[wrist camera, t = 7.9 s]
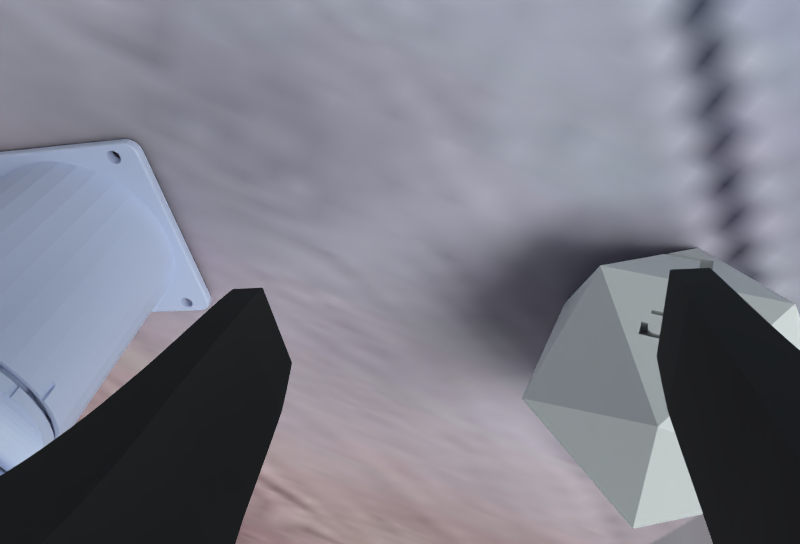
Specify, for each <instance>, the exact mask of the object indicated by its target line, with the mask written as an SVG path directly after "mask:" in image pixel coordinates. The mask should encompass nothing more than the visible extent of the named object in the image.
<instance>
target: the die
mask: <svg viewBox="0 0 800 544" xmlns="http://www.w3.org/2000/svg"><path fill="white" fill-rule="evenodd" d="M694 268H711V269H712V270H713V271H714V272H715V273H716V274H717V275H719V276H720V277H721V278H722V279H723V280H724V281H725V282H726V283H727V284H728V285H729V286H730V287H731V288H732V289H733V290H735V291H736V292H737V293H738V294H739V295H740V296H741V297H742V298H743V299H744V300H745V301H746V302H747V303H748V304H749V305H750V306H751V307H752V308H754V309H755V310H756V311H757V312H758V313H759V314H760V315H761V316H762V317H763V318H764V319H765V320H766V321H768V322H769V323H770V324H771V325H772V326H773V327H774V328H775V329H776V330H777V331H779V332H780V333H781V334H782V335H783V336H784V337H785V338H786V339H787V340H789V341H790V342H791V343H792V344H793V345H794V346H795V347H797V348H798V349H799V350H800V316H799V313H798V311H797V308H796V305H795V303H793V302H791V301H789V300H788V299H786V298H784V297H782V296H781V295H779V294H777V293H776V292H774V291H772V290H770V289H769V288H767V287H765V286H763V285H762V284H760V283H758V282H757V281H755V280H753V279H751V278H750V277H748V276H746V275H745V274H743V273H741V272H739V271H738V270H736V269H734V268H732V267H731V266H729V265H727V264H726V263H724V262H722V261H720V260H719V259H717V258H715V257H714V256H712V255H710V254H708V253H707V252H705V251H703V250H701V249H700V248H695V249H690V250H684V251H678V252H673V253H669V254H662V255H656V256H650V257H645V258H639V259H634V260H628V261H623V262H617V263H611V264H606V265H600V266H599V267H598V268H597V270H596V271H595V272H594V273H593V274H592V275H591V276H590V277H589V278H588V279H587V280H586V281H585V282H584V283H583V284H582V285H581V286H580V288H579V289H578V290H577V291H576V292H575V293H574V294H573V295H572V296H571V297H570V298H569V299H568V300H567V301H566V302H565V304H564V306H563V308H562V310H561V313H560V315H559V317H558V319H557V321H556V324H555V326H554V328H553V330H552V333H551V335H550V337H549V339H548V341H547V344H546V346H545V348H544V350H543V353H542V355H541V357H540V359H539V361H538V364H537V366H536V368H535V370H534V372H533V375H532V377H531V379H530V381H529V384H528V386H527V388H526V390H525V392H524V395H523V397H522V399H523V400H524V401H525V402H526V404H527V405H528V406H529V407H530V408H531V409H532V411H533V412H534V413H535V414H536V415H537V417H538V418H539V419H540V420H541V421H542V422H543V424H544V425H545V426H546V427H547V428H548V429H549V431H550V432H551V433H552V434H553V435H554V437H555V438H556V439H557V440H558V441H559V442H560V444H561V445H562V446H563V447H564V448H565V450H566V451H567V452H568V453H569V454H570V455H571V457H572V458H573V459H574V460H575V461H576V462H577V464H578V465H579V466H580V467H581V468H582V470H583V471H584V472H585V473H586V474H587V475H588V477H589V478H590V479H591V480H592V481H593V482H594V484H595V485H596V486H597V487H598V488H599V490H600V491H601V492H602V493H603V494H604V495H605V497H606V498H607V499H608V500H609V501H610V502H611V504H612V505H613V506H614V507H615V508H616V510H617V511H618V512H619V513H620V514H621V515H622V517H623V518H624V519H625V520H626V521H627V522H628V524H629V525H630V526H631V527H632V528H633V529H634V528H639V527H644V526H648V525H653V524H658V523H663V522H667V521H672V520H677V519H682V518H686V517H691V516H696V515H701V514H703V512H702V509H701V507H700V504H699V501H698V498H697V495H696V492H695V489H694V486H693V483H692V481H691V478H690V475H689V472H688V469H687V466H686V463H685V460H684V458H683V455H682V452H681V449H680V446H679V443H678V440H677V437H676V434H675V431H674V428H673V425H672V422H671V419H670V416H669V413H668V410H667V405H666V401H665V396H664V392H663V387H662V382H661V377H660V372H659V367H658V362H657V350H658V344H659V337H660V331H661V324H662V318H663V311H664V305H665V298H666V292H667V285H668V279H669V273H670V270H671V269H694Z"/></svg>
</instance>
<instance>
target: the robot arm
mask: <svg viewBox="0 0 800 544" xmlns="http://www.w3.org/2000/svg"><path fill="white" fill-rule="evenodd" d="M112 151H115V152H116V153H118V154H119V156H120V158H121V159H120V158H118V157H116V156H115V155H114V154H113V152H112ZM186 298H187V299H189V300H191V301H189V300H187V299H186ZM210 303H211V296H210V294H209V292H208V290H207V287H206V285H205V283H204V281H203V279H202V277H201V274H200V272H199V270H198V268H197V266H196V264H195V262H194V259H193V257H192V255H191V253H190V251H189V249H188V247H187V244H186V242H185V240H184V238H183V236H182V234H181V231H180V229H179V227H178V225H177V223H176V221H175V219H174V216H173V214H172V212H171V210H170V208H169V206H168V203H167V201H166V199H165V197H164V195H163V193H162V191H161V188H160V186H159V184H158V182H157V180H156V178H155V176H154V173H153V171H152V169H151V167H150V165H149V163H148V160H147V158H146V156H145V154H144V152H143V150H142V148H141V147H140V146H139V145H138V144H137V143H136V142H134V141H132V140H129V139H120V140H111V141H101V142H92V143H82V144H72V145H63V146H53V147H43V148H34V149H24V150H14V151H5V152H0V544H235V543H236V539H237V536H238V533H239V530H240V527H241V524H242V520H243V517H244V515H245V512H246V509H247V506H248V504H249V501H250V498H251V495H252V493H253V490H254V487H255V484H256V482H257V479H258V476H259V473H260V471H261V468H262V465H263V462H264V460H265V457H266V454H267V451H268V449H269V446H270V443H271V440H272V437H273V435H274V432H275V429H276V426H277V423H278V420H279V417H280V414H281V411H282V407H283V403H284V399H285V394H286V390H287V385H288V380H289V375H290V370H291V365H292V362H291V360H290V357H289V354H288V352H287V349H286V347H285V344H284V342H283V339H282V336H281V334H280V331H279V329H278V326H277V324H276V321H275V319H274V316H273V313H272V311H271V308H270V306H269V303H268V301H267V298H266V295H265V293H264V290H263V288H248V289H233V290H231V291H230V292H229V293H228V294H226V295H225V296H224V297H223V298H222V299H220V300H219V301H218V302H217V303H216V304H215V305H214V306H213V307H211V308H210V309H209V310H208V311H207V312H206V313H205V314H204V315H203V316H201V317H200V318H199V319H198V320H197V321H196V322H195V323H194V324H193V325H192V326H191V327H189V328H188V329H187V330H186V331H185V332H184V333H183V334H182V335H181V336H180V337H178V338H177V339H176V340H175V341H174V342H173V343H172V344H171V345H170V346H169V347H167V348H166V349H165V350H164V351H163V352H162V353H161V354H160V355H159V356H157V357H156V358H155V359H154V360H153V361H152V362H151V363H150V364H149V365H147V366H146V367H145V368H144V369H143V370H142V371H140V372H139V373H138V374H137V375H136V376H134V377H133V378H132V379H131V380H130V381H128V382H127V383H126V384H125V385H124V386H122V387H121V388H120V389H119V390H118V391H116V392H115V393H114V394H113V395H112V396H110V397H109V398H108V399H107V400H106V401H105V402H103V403H102V404H101V405H100V406H98V407H97V408H96V409H95V410H93V411H92V412H91V413H90V414H88V415H87V416H86V417H84V418H83V419H82V420H80V421H79V422H78V423H76V421H77V420H78V418H79V417H80V416H81V414H82V413H83V411H84V410H85V408H86V407H87V405H88V404H89V402H90V401H91V399H92V398H93V396H94V395H95V393H96V392H97V391H98V389H99V388H100V386H101V385H102V383H103V382H104V380H105V379H106V377H107V376H108V374H109V373H110V371H111V370H112V368H113V367H114V366H115V364H116V363H117V361H118V360H119V358H120V357H121V355H122V354H123V352H124V351H125V349H126V348H127V346H128V345H129V343H130V342H131V341H132V339H133V338H134V336H135V335H136V333H137V332H138V330H139V329H140V327H141V326H142V324H143V323H144V321H145V320H146V319H147V317H148V316H149V314H150V313H151V312H164V311H190V310H204V309H206V308H208V306H209V305H210ZM657 362H658V367H659V372H660V377H661V382H662V387H663V392H664V396H665V401H666V405H667V410H668V413H669V416H670V419H671V422H672V425H673V428H674V431H675V434H676V437H677V440H678V443H679V446H680V449H681V452H682V455H683V458H684V460H685V463H686V466H687V469H688V472H689V475H690V478H691V481H692V483H693V486H694V489H695V492H696V495H697V498H698V501H699V504H700V507H701V509H702V512H703V515H704V518H705V521H706V524H707V527H708V530H709V532H710V535H711V539H712V542H713V544H800V350H799V349H798V348H797V347H795V346H794V345H793V344H792V343H791V342H790V341H789V340H787V339H786V338H785V337H784V336H783V335H782V334H781V333H780V332H779V331H777V330H776V329H775V328H774V327H773V326H772V325H771V324H770V323H769V322H768V321H766V320H765V319H764V318H763V317H762V316H761V315H760V314H759V313H758V312H757V311H756V310H755V309H754V308H752V307H751V306H750V305H749V304H748V303H747V302H746V301H745V300H744V299H743V298H742V297H741V296H740V295H739V294H738V293H737V292H736V291H735V290H733V289H732V288H731V287H730V286H729V285H728V284H727V283H726V282H725V281H724V280H723V279H722V278H721V277H720V276H719V275H717V274H716V273H715V272H714V271H713V270H712V269H711V268H694V269H671V270H670V273H669V279H668V285H667V292H666V298H665V305H664V311H663V318H662V324H661V331H660V337H659V344H658V350H657ZM75 423H76V424H75ZM74 424H75V425H74Z"/></svg>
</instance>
